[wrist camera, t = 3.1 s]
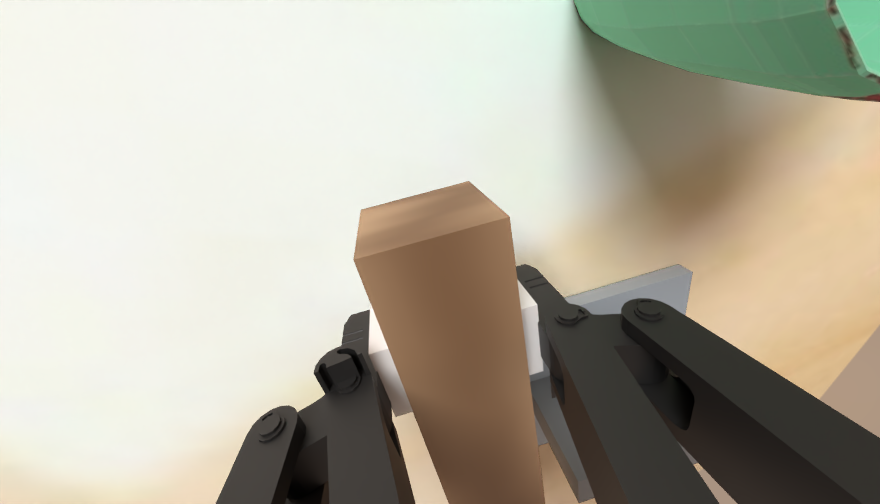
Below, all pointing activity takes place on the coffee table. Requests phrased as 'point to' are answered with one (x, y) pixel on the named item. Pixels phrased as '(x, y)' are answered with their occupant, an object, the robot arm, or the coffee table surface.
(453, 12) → the coffee table surface
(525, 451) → the plank
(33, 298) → the coffee table surface
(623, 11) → the mug
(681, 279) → the fulcrum
